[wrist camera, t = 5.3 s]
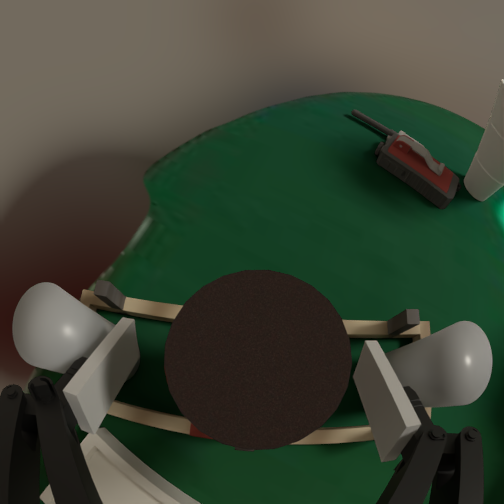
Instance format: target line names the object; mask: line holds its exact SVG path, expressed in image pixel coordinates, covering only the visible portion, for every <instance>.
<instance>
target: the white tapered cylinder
mask: <svg viewBox="0 0 504 504" xmlns="http://www.w3.org/2000/svg"><path fill="white" fill-rule="evenodd" d="M464 185H465V187H466V189H467V190H468V192H469V193H470V194H471V195H472V196H473V197H474V198H475V199H477V200H479V201H484V200H486V199H487V198H488V197H489V196H491V195H492V194H493V193H495V192H496V191H497V190H498V189H500V188H501V187H502V186H503V185H504V79H502V80H501V83H500V86H499V90H498V93H497V97H496V100H495V103H494V106H493V109H492V112H491V117H490V118H489V121H488V124H487V126H486V129H485V132H484V134H483V137H482V140H481V142H480V145H479V147H478V151H477V152H476V154H475V156H474V159H473V161H472V163H471V165H470V167H469V170H468V172H467V174H466V176H465V178H464Z"/></svg>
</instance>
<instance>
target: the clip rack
mask: <svg viewBox="0 0 504 504" xmlns="http://www.w3.org/2000/svg"><path fill="white" fill-rule="evenodd" d="M80 302H81V303H82V304H84V305H85V306H87V307H88V308H90V309H91V310H93V311H94V312H96V311H97V309H101V310H106V311H111V312H116V313H121V314H127V315H132V316H137V317H143V318H149V319H155V320H161V321H167V322H173V320H174V319H175V317H176V316H177V314H178V313H179V311H180V310H181V308H182V307H183V306H181V305H173V304H166V303H159V302H153V301H146V300H140V299H134V298H128V297H125V296H124V295H123V294H122V293H121V292H120V291H119V290H118V289H117V288H116V287H115V286H114V285H113V284H111V283H110V282H108V281H102V280H97V283H96V286H95V290H94V291H89V290H83V292H82V295H81V299H80ZM343 323H344V326H345V328H346V331H347V334H348V337H349V338H412V340H413V342H415V341H418V340H420V339H422V338H425V337H427V336H429V335H430V324H429V321H420V320H419V309H406V310H404V311H403V312H401V313H400V314H398V315H396V316H395V317H393V318H392V319H390V320H388V321H357V320H343ZM425 410H426V412H427V413H428V415H429V417H430V419H431V407H426V408H425ZM107 414H110V415H114V416H117V417H120V418H123V419H127V420H130V421H134V422H137V423H141V424H145V425H149V426H153V427H157V428H161V429H166V430H170V431H175V432H180V433H185V434H190V436H196V437H202V438H208V439H213V438H211V437H209V436H207V435H206V434H204V433H202V432H200V431H199V430H198V429H197V428H196V427H195V426H194V425H193V424H192V423H191V422H190V421H189V420H188V419H187V418H186V417H183V416H178V415H173V414H168V413H163V412H159V411H154V410H150V409H146V408H142V407H138V406H134V405H131V404H127V403H123V402H120V401H117V400H114V401H113V403H112V405H111V407H110V408H109V410H108V412H107ZM367 440H374V437H373V434H372V431H371V428H370V425H363V426H350V427H331V428H319V429H317V430H316V431H314V432H313V433H311V434H310V435H308V436H307V437H305V438H303V439H302V440H300V441H298V442H295V443H292V444H330V443H346V442H358V441H367ZM235 450H243V451H254V450H246V449H242V448H238V447H235Z"/></svg>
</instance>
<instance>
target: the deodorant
mask: <svg viewBox="0 0 504 504" xmlns="http://www.w3.org/2000/svg"><path fill="white" fill-rule="evenodd" d="M351 366H352V358H351V347H350V339H349V337H348V334H347V331H346V328H345V326H344V323H343V320H342V318H341V317H340V315H339V314H338V313H337V311H336V310H335V308H334V307H333V305H332V304H331V303H330V301H329V300H328V299H327V298H326V297H325V296H323V295H322V294H321V293H320V292H319V291H317V290H316V289H315V288H314V287H313V286H312V285H310V284H308V283H306V282H304V281H302V280H300V279H298V278H296V277H294V276H292V275H288V274H284V273H280V272H275V271H271V270H245V271H241V272H237V273H233V274H229V275H225V276H222V277H220V278H218V279H216V280H215V281H213V282H211V283H209V284H207V285H205V286H203V287H202V288H201V289H200V290H199V291H197V292H196V293H195V294H194V295H193V296H192V297H191V298H190V299H188V300H187V301H186V302H185V304H184V305H183V307H182V308H181V310H180V311H179V313H178V314H177V316H176V317H175V319H174V320H173V322H172V325H171V328H170V331H169V334H168V337H167V340H166V343H165V357H164V370H165V374H166V379H167V383H168V387H169V391H170V393H171V395H172V397H173V399H174V401H175V402H176V404H177V406H178V408H179V409H180V411H181V413H182V414H183V415H184V416H185V417H186V418H187V419H188V420H189V421H190V422H191V423H192V424H193V425H194V426H195V427H196V428H197V429H198V430H199V431H200V432H202V433H204V434H206V435H207V436H209V437H211V438H213V439H215V440H216V441H218V442H220V443H222V444H225V445H229V446H233V447H238V448H242V449H246V450H262V449H275V448H279V447H282V446H285V445H289V444H292V443H295V442H298V441H300V440H302V439H303V438H305V437H307V436H308V435H310V434H311V433H313V432H314V431H316V430H317V429H319V428H320V427H321V426H322V425H323V424H324V423H325V422H326V421H327V420H328V419H329V417H330V416H331V415H332V414H333V413H334V412H335V411H336V409H337V408H338V406H339V404H340V402H341V400H342V398H343V396H344V394H345V392H346V390H347V387H348V383H349V378H350V372H351Z"/></svg>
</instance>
